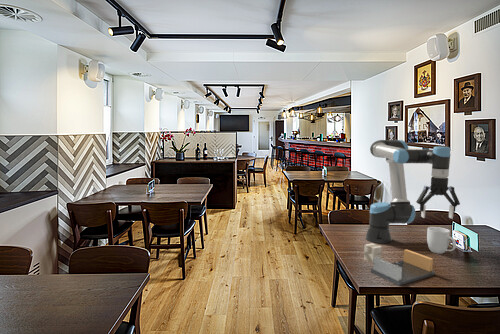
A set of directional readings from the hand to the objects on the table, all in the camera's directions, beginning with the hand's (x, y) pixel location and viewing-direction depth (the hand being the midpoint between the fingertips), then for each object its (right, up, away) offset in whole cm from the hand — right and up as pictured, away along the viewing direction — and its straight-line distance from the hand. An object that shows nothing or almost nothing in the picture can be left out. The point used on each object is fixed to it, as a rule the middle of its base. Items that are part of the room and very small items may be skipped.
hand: (436, 217), depth 165 cm
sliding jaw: (-13, -23, -6) cm, 27 cm away
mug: (+11, -22, +16) cm, 30 cm away
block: (-31, -23, +5) cm, 39 cm away
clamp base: (-23, -25, -11) cm, 36 cm away
